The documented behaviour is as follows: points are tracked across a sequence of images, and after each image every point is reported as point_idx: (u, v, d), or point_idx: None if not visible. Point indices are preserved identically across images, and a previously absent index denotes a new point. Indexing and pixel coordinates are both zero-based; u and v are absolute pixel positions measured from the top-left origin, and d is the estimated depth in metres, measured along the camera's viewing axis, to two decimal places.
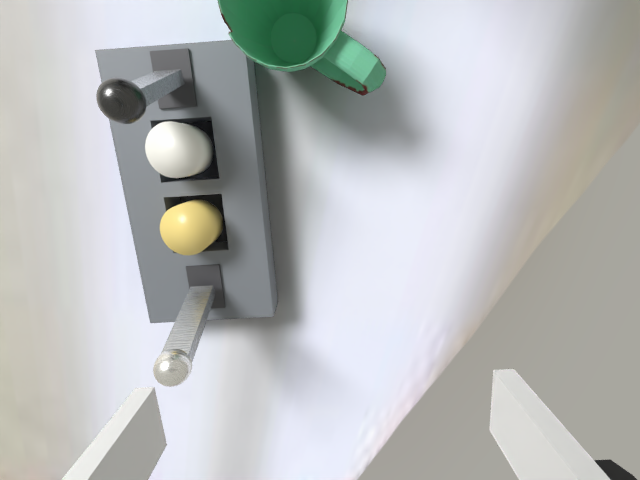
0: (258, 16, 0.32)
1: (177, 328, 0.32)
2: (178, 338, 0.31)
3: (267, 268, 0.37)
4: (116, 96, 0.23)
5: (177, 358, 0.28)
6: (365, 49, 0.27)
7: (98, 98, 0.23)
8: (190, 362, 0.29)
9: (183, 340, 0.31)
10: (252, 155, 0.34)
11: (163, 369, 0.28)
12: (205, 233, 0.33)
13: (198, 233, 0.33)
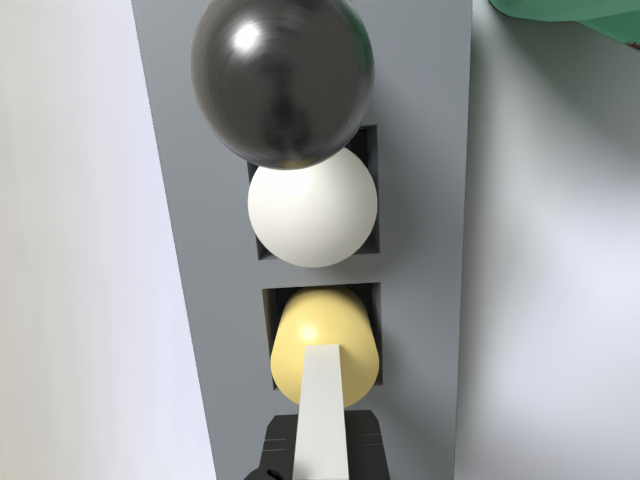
0: None
1: None
2: None
3: (454, 417, 0.19)
4: (305, 48, 0.04)
5: None
6: None
7: (207, 60, 0.05)
8: None
9: None
10: (454, 206, 0.16)
11: None
12: (365, 370, 0.16)
13: (350, 370, 0.16)
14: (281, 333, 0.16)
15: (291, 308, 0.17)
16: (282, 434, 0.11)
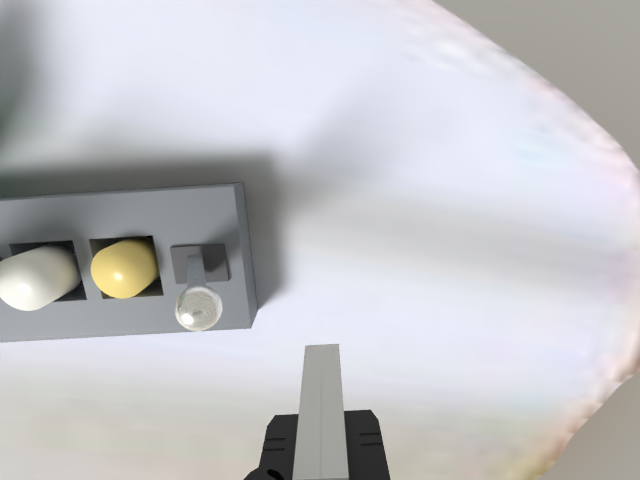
0: None
1: None
2: None
3: (170, 191, 0.31)
4: None
5: (176, 301, 0.22)
6: None
7: None
8: (192, 286, 0.23)
9: None
10: (40, 203, 0.31)
11: (181, 319, 0.22)
12: (119, 253, 0.31)
13: (119, 260, 0.31)
14: (105, 292, 0.32)
15: None
16: (282, 434, 0.11)
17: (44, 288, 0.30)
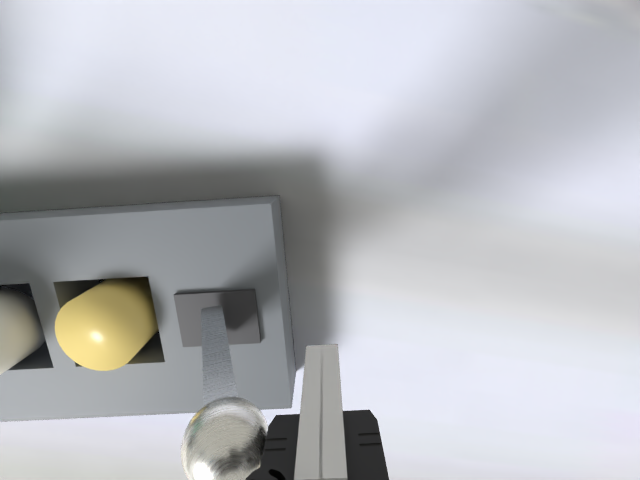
0: None
1: None
2: None
3: (175, 211, 0.20)
4: None
5: (185, 437, 0.11)
6: None
7: None
8: (215, 404, 0.12)
9: None
10: None
11: None
12: (96, 305, 0.20)
13: (97, 316, 0.20)
14: (78, 361, 0.21)
15: None
16: (283, 434, 0.11)
17: None
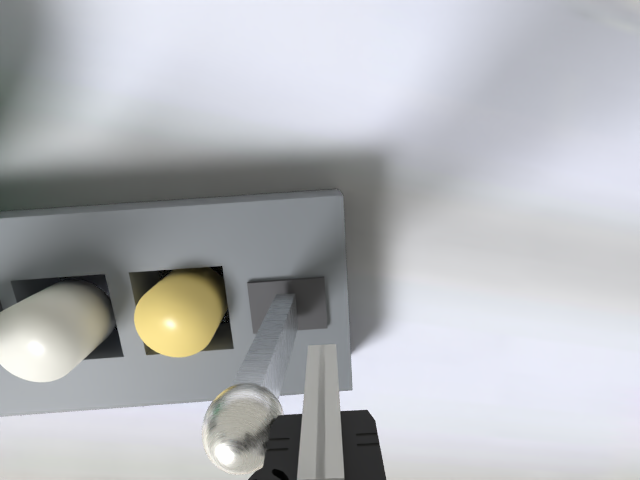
0: None
1: None
2: None
3: (251, 203, 0.21)
4: None
5: (207, 410, 0.13)
6: None
7: None
8: (236, 387, 0.13)
9: None
10: (58, 221, 0.21)
11: (205, 450, 0.12)
12: (176, 293, 0.21)
13: (177, 304, 0.21)
14: (154, 349, 0.22)
15: None
16: (286, 434, 0.11)
17: (67, 349, 0.20)
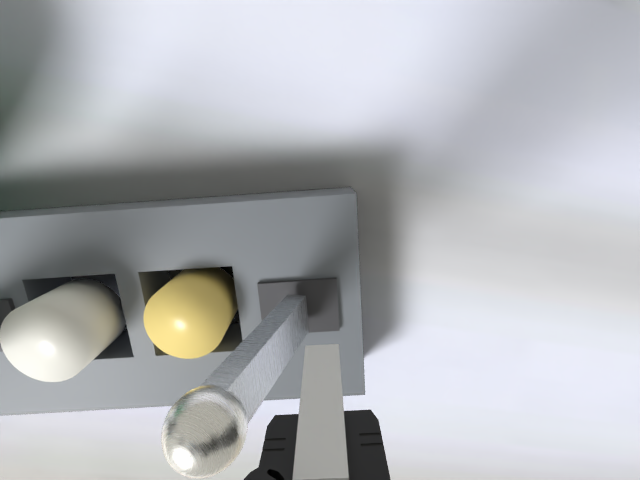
0: None
1: None
2: None
3: (262, 201, 0.21)
4: None
5: (172, 407, 0.13)
6: None
7: None
8: (200, 389, 0.13)
9: None
10: (68, 220, 0.21)
11: None
12: (186, 294, 0.21)
13: (186, 304, 0.21)
14: (164, 350, 0.22)
15: None
16: (282, 434, 0.11)
17: (77, 350, 0.20)
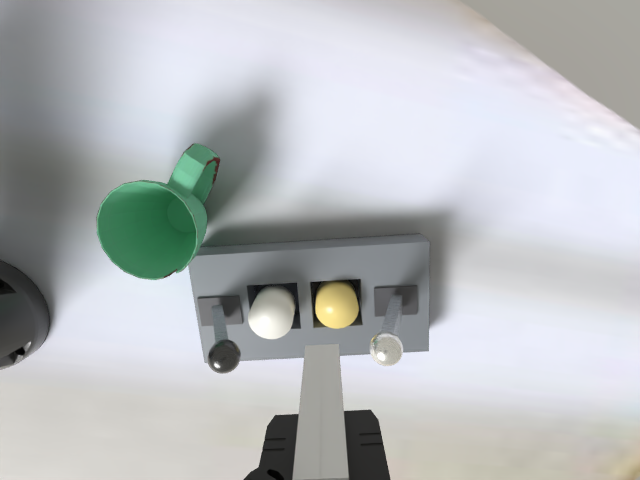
0: (170, 243, 0.41)
1: None
2: None
3: (379, 245, 0.39)
4: (218, 360, 0.30)
5: None
6: (178, 164, 0.32)
7: (221, 372, 0.31)
8: (384, 332, 0.31)
9: None
10: (276, 254, 0.40)
11: (372, 354, 0.31)
12: (339, 293, 0.39)
13: (339, 299, 0.40)
14: (323, 323, 0.41)
15: None
16: (282, 434, 0.11)
17: (286, 322, 0.39)
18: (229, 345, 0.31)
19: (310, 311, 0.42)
